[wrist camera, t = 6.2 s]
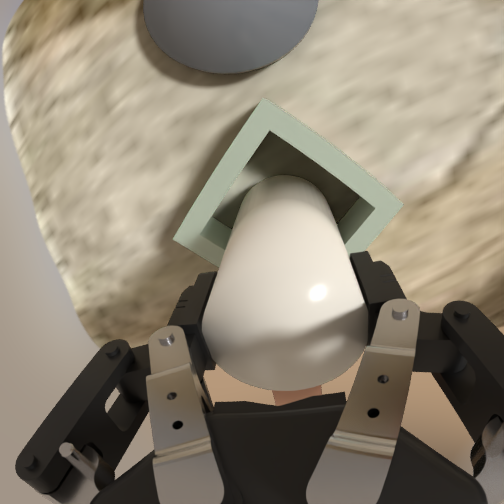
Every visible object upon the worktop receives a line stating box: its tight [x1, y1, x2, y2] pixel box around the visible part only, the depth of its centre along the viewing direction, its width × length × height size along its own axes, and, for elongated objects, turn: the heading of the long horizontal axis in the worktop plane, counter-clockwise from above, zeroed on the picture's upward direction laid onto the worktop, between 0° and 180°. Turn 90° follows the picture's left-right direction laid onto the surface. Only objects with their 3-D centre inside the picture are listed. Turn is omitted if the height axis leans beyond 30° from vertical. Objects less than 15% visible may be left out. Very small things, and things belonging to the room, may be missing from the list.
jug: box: [202, 175, 368, 406], centre depth 16 cm, size 9×6×10 cm, turn 11°
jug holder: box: [173, 98, 404, 268], centre depth 19 cm, size 9×9×3 cm
